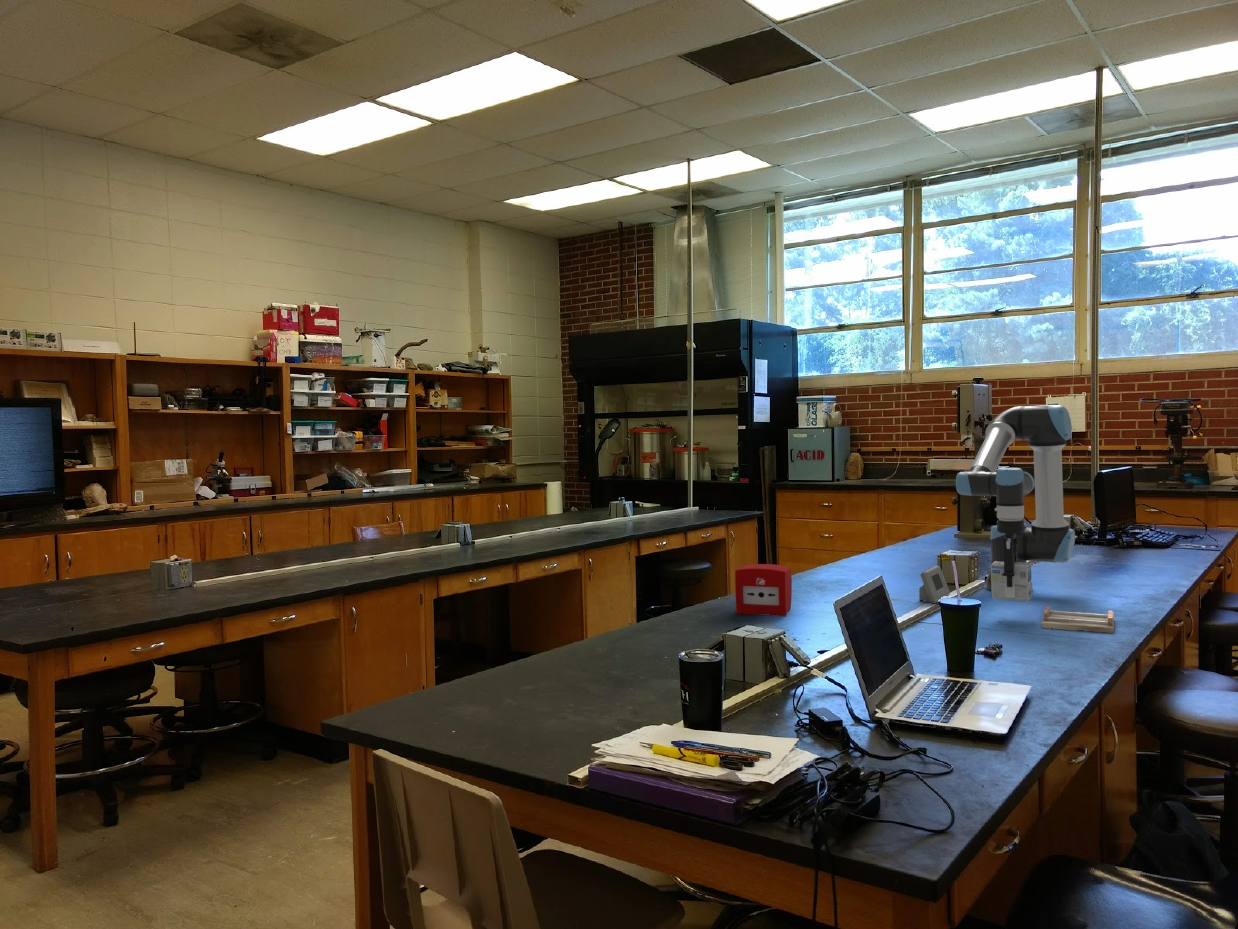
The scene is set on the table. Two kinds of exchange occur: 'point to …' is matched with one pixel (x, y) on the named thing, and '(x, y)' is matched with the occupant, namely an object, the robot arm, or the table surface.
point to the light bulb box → (1021, 581)
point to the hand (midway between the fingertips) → (1011, 594)
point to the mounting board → (1078, 624)
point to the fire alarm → (763, 589)
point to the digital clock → (933, 585)
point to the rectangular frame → (1048, 612)
